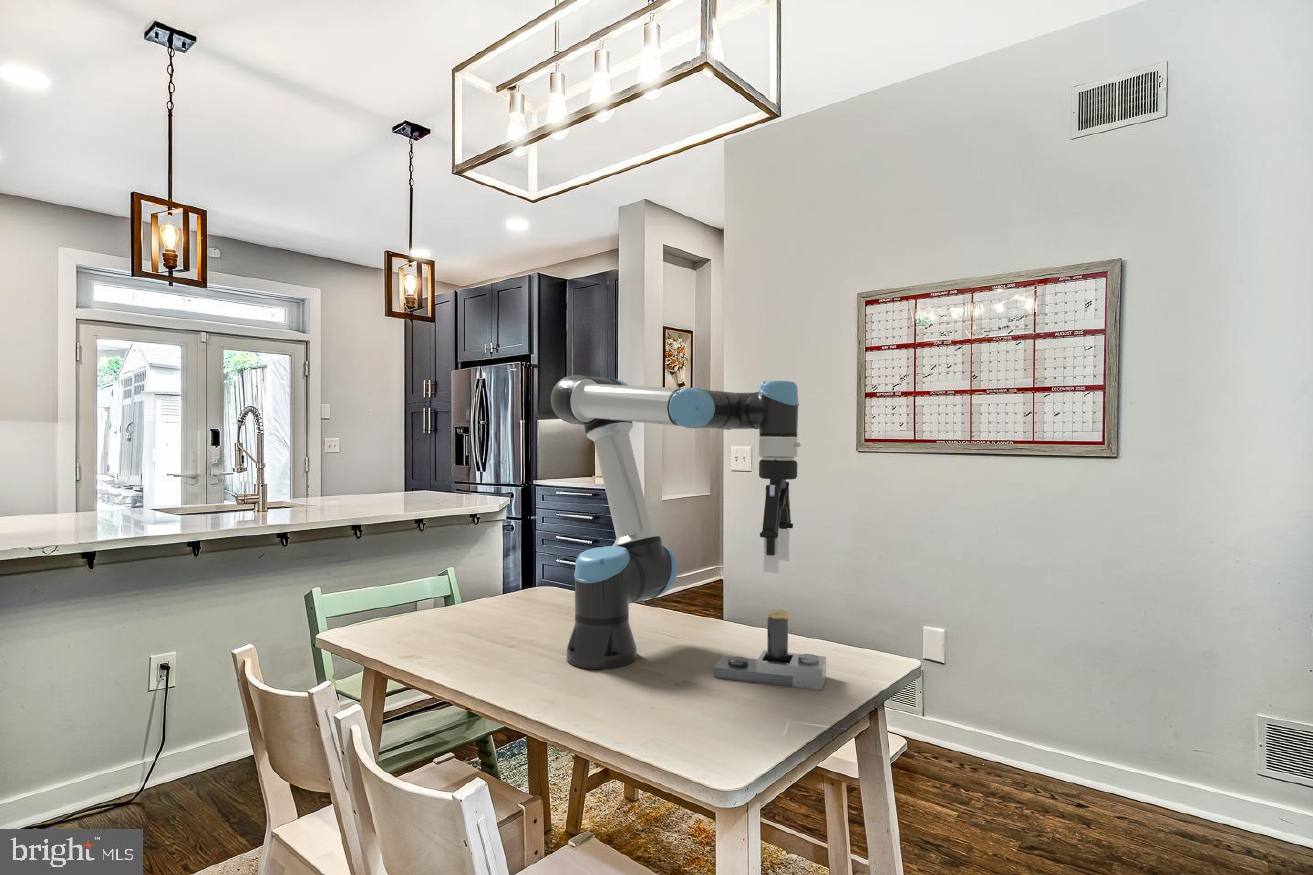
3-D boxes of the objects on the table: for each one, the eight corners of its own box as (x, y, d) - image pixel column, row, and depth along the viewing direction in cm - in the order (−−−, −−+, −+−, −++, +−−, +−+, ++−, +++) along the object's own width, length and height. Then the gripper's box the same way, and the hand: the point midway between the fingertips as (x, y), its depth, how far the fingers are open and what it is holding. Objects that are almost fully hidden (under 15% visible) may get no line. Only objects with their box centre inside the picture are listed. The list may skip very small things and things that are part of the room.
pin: (765, 680, 134) (765, 613, 134) (769, 673, 138) (769, 609, 138) (786, 682, 133) (786, 615, 133) (789, 675, 137) (789, 610, 137)
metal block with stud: (713, 677, 135) (713, 653, 135) (723, 664, 143) (723, 642, 143) (822, 690, 129) (822, 664, 129) (826, 676, 136) (826, 652, 136)
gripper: (788, 461, 123) (786, 579, 123) (805, 457, 146) (803, 556, 146) (746, 460, 125) (745, 576, 125) (770, 457, 149) (768, 554, 149)
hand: (776, 565), depth 136 cm, fingers open, 13 cm apart
